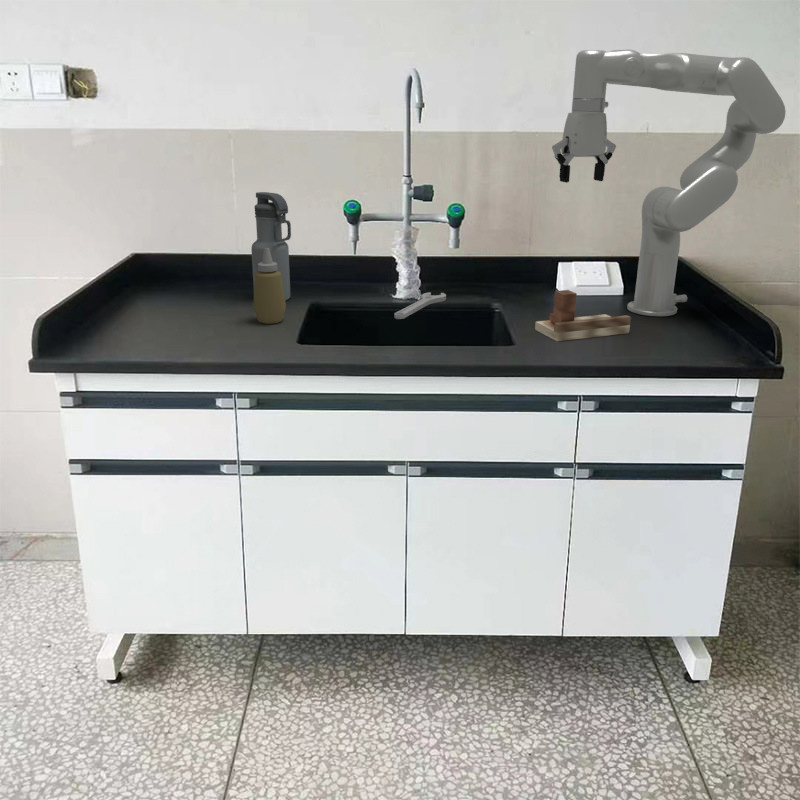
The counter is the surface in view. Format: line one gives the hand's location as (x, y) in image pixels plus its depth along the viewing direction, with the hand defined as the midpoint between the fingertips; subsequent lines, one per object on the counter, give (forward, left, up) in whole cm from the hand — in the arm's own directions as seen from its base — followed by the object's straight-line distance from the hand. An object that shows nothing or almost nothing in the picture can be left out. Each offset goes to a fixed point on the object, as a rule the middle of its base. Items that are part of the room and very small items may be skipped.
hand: (581, 181), depth 200 cm
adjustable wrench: (+35, -19, -34) cm, 52 cm away
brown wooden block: (+12, +15, -31) cm, 36 cm away
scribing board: (+6, +15, -33) cm, 37 cm away
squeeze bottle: (+75, -18, -34) cm, 84 cm away
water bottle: (+69, -39, -34) cm, 86 cm away
